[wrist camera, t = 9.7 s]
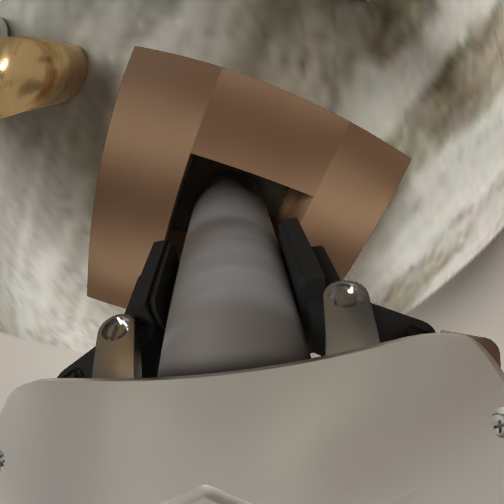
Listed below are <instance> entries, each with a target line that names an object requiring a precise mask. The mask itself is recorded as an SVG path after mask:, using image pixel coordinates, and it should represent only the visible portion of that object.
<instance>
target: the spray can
mask: <svg viewBox="0 0 504 504" xmlns="http://www.w3.org/2000/svg"><path fill="white" fill-rule="evenodd" d="M6 37H9V28H8V26H7V24H6V21H5V20H4V19H3V18H0V40H1V39H3V38H6Z"/></svg>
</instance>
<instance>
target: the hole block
mask: <svg viewBox="0 0 504 504" xmlns="http://www.w3.org/2000/svg"><path fill="white" fill-rule="evenodd" d="M194 154H195V155H198V156H201V157H204V158H208V159H211V160H214V161H217V162H220V163H223V164H226V165H229V166H232V167H235V168H238V169H241V170H244V171H246V172H249V173H252V174H255V175H258V176H260V177H263V178H266V179H269V180H271V181H274V182H277V183H279V184H282V185H285V186H287V187H289V189H288V191H287V194H286V196H285V198H284V200H283V202H282V204H281V206H280V209H279V211H278V213H277V215H276V217H275V219H274V221H273V224H272V226H273V229H274V232H275V235H276V239H277V242H278V245H279V249H280V252H281V245H280V236H279V227H278V224H281V223H283V219H289V218H296V217H297V219H298V221H299V223H300V225H301V227H302V229H303V231H304V233H305V235H306V237H307V239H308V241H309V243H310V245H311V247H314V246H320V245H322V246H323V247H324V249H325V251H326V253H327V255H328V256H329V258H330V260H331V262H332V264H333V266H334V268H335V270H336V272H337V273H338V275H339V277H340V279H341V281H342V280H343V279H344V277H345V276H346V274H347V272H348V271H349V269H350V268H351V266H352V265H353V263H354V261H355V260H356V258H357V257H358V255H359V253H360V252H361V250H362V248H363V247H364V245H365V243H366V242H367V240H368V238H369V237H370V235H371V233H372V232H373V230H374V228H375V227H376V225H377V223H378V221H379V220H380V218H381V216H382V214H383V212H384V211H385V209H386V207H387V205H388V203H389V202H390V200H391V198H392V196H393V194H394V192H395V191H396V189H397V187H398V185H399V183H400V181H401V179H402V177H403V175H404V173H405V171H406V169H407V167H408V165H409V163H410V161H411V158H409V157H408V156H406V155H405V154H403V153H402V152H400V151H399V150H397V149H396V148H394V147H392V146H391V145H389V144H388V143H386V142H384V141H383V140H381V139H379V138H378V137H376V136H374V135H373V134H371V133H369V132H367V131H366V130H364V129H362V128H360V127H359V126H357V125H355V124H353V123H351V122H350V121H348V120H346V119H344V118H342V117H340V116H338V115H336V114H334V113H332V112H330V111H328V110H326V109H324V108H322V107H320V106H318V105H316V104H314V103H312V102H310V101H308V100H305V99H303V98H301V97H299V96H296V95H294V94H292V93H290V92H287V91H285V90H282V89H280V88H278V87H275V86H273V85H270V84H268V83H265V82H262V81H260V80H257V79H254V78H252V77H249V76H246V75H243V74H240V73H238V72H235V71H232V70H229V69H226V68H222V67H219V66H216V65H213V64H209V63H206V62H202V61H199V60H195V59H191V58H188V57H184V56H180V55H176V54H171V53H167V52H163V51H158V50H153V49H148V48H143V47H137V46H135V47H134V49H133V52H132V55H131V57H130V60H129V63H128V66H127V68H126V71H125V74H124V77H123V80H122V83H121V86H120V89H119V93H118V96H117V99H116V103H115V106H114V110H113V113H112V117H111V121H110V125H109V129H108V133H107V137H106V141H105V146H104V150H103V155H102V160H101V165H100V170H99V176H98V182H97V188H96V194H95V201H94V208H93V216H92V225H91V235H90V246H89V261H88V284H87V296H88V297H91V298H94V299H97V300H100V301H103V302H106V303H109V304H112V305H116V306H119V307H122V308H125V309H127V306H128V303H129V301H130V298H131V295H132V292H133V290H134V287H135V285H136V282H137V279H138V277H139V276H140V275H141V273H142V270H143V268H144V265H145V263H146V260H147V258H148V255H149V253H150V250H151V248H152V246H153V243H154V242H156V241H162V240H168V241H169V242H173V243H174V245H175V248H176V251H177V254H178V258H179V261H180V259H181V255H182V251H183V247H184V243H185V239H186V235H187V233H185V232H182V231H178V230H175V229H172V228H171V226H172V223H173V219H174V216H175V212H176V209H177V205H178V202H179V199H180V195H181V192H182V189H183V186H184V183H185V179H186V176H187V173H188V170H189V167H190V164H191V161H192V158H193V155H194ZM281 255H282V254H281Z"/></svg>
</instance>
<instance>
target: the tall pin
mask: <svg viewBox="0 0 504 504" xmlns="http://www.w3.org/2000/svg"><path fill="white" fill-rule="evenodd" d="M306 359H311V356H310V353H309V349H308V345H307V342H306V338H305V334H304V331H303V327H302V324H301V320H300V317H299V313H298V310H297V306H296V303H295V299H294V296H293V292H292V289H291V285H290V282H289V279H288V275H287V272H286V269H285V265H284V262H283V258H282V255H281V252H280V249H279V245H278V242H277V239H276V235H275V232H274V229H273V226H272V222H271V219H270V216H269V213H268V210H267V206H266V203H265V200H264V197H263V194H262V192H261V190H260V188H259V187H258V185H257V184H256V183H255V182H254V181H253V180H251V179H250V178H248V177H246V176H244V175H241V174H238V173H223V174H219V175H216V176H214V177H212V178H210V179H209V180H208V181H206V182H205V183H204V184H203V185H202V187H201V188H200V190H199V191H198V194H197V197H196V200H195V204H194V208H193V211H192V215H191V219H190V223H189V227H188V231H187V235H186V239H185V243H184V247H183V251H182V255H181V259H180V263H179V268H178V272H177V277H176V281H175V286H174V290H173V295H172V299H171V304H170V309H169V314H168V319H167V324H166V329H165V335H164V340H163V346H162V351H161V357H160V363H159V369H158V375H157V377H171V376H186V375H198V374H209V373H219V372H228V371H236V370H244V369H251V368H258V367H265V366H271V365H278V364H284V363H289V362H295V361H301V360H306Z"/></svg>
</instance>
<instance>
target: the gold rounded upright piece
mask: <svg viewBox="0 0 504 504" xmlns="http://www.w3.org/2000/svg"><path fill="white" fill-rule="evenodd" d="M87 72H88V60H87V56H86V54H85V52H84V51H83V49H82V48H81V47H79V46H78V45H76V44H72V43H66V42H59V41H52V40H45V39H36V38H25V37H6V38H3V39H1V40H0V119H2V118H5V117H9V116H12V115H15V114H19V113H22V112H26V111H30V110H34V109H38V108H42V107H46V106H51V105H55V104H60V103H64V102H66V101H68V100H70V99H71V98H73V97H74V96H75V95H76V94H77V93H78V92H79V90H80V89H81V87H82V86H83V84H84V82H85V79H86V76H87Z"/></svg>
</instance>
